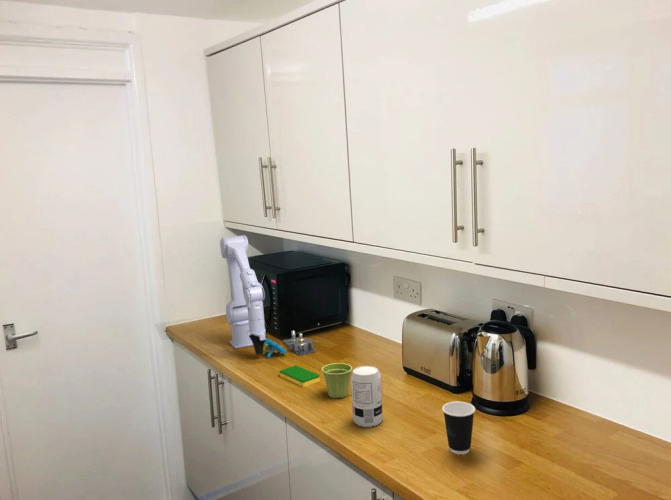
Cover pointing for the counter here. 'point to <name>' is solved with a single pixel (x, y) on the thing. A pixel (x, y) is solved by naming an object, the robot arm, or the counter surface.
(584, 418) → the counter surface
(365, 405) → the supplement can
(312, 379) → the dish sponge
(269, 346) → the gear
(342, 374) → the plant pot
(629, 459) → the counter surface
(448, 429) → the dixie cup
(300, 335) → the gear board
